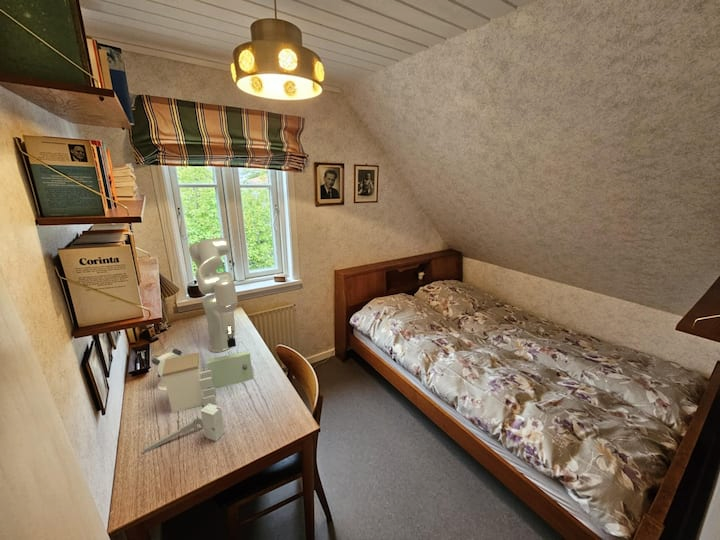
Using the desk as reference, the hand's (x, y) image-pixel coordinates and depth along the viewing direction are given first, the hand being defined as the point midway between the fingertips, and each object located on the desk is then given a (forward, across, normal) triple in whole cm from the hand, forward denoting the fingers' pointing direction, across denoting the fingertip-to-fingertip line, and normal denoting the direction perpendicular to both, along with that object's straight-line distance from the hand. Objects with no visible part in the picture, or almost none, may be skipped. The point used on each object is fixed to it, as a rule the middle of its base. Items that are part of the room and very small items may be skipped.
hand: (231, 341), depth 141 cm
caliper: (+22, +26, -24) cm, 42 cm away
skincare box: (+22, +30, -10) cm, 38 cm away
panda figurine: (+22, -12, -28) cm, 37 cm away
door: (+22, 0, -2) cm, 22 cm away
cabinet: (+21, +6, -18) cm, 28 cm away
